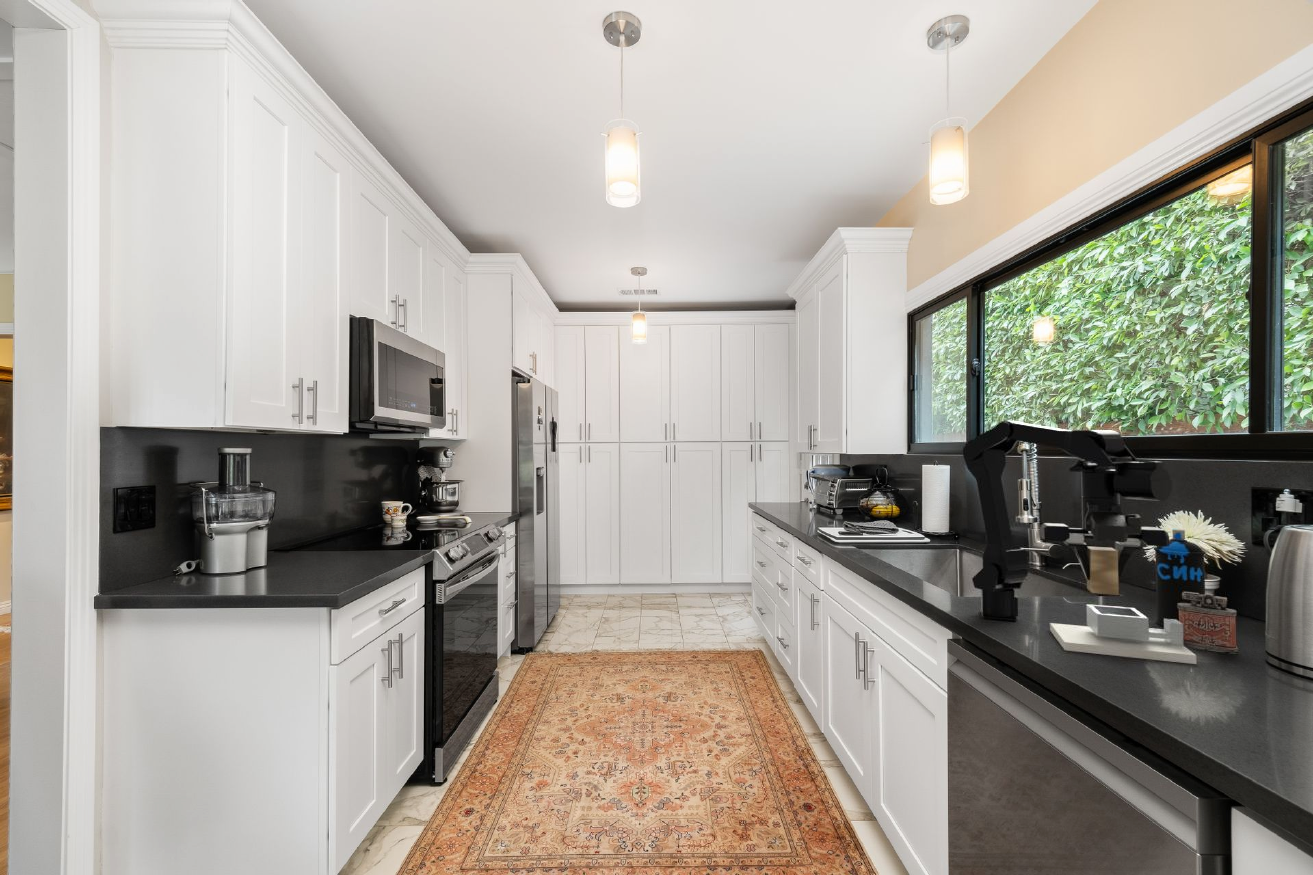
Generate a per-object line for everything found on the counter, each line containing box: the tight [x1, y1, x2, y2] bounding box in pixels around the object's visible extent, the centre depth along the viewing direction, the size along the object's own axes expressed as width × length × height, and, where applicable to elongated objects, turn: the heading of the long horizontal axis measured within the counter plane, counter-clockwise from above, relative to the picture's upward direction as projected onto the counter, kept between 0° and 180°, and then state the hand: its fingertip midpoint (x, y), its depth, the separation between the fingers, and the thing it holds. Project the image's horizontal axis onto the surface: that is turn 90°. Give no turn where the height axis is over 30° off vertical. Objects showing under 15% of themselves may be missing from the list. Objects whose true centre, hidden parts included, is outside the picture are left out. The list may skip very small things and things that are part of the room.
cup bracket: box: [1086, 604, 1184, 646], centre depth 111 cm, size 13×8×5 cm, turn 67°
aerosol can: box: [1153, 528, 1207, 627], centre depth 124 cm, size 8×8×20 cm
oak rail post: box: [1086, 545, 1120, 596], centre depth 111 cm, size 4×4×8 cm
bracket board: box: [1049, 622, 1197, 665], centre depth 112 cm, size 19×13×2 cm
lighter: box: [1178, 592, 1239, 654], centre depth 111 cm, size 8×3×10 cm, turn 47°
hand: (1102, 580), depth 111 cm, fingers closed on oak rail post, 4 cm apart
